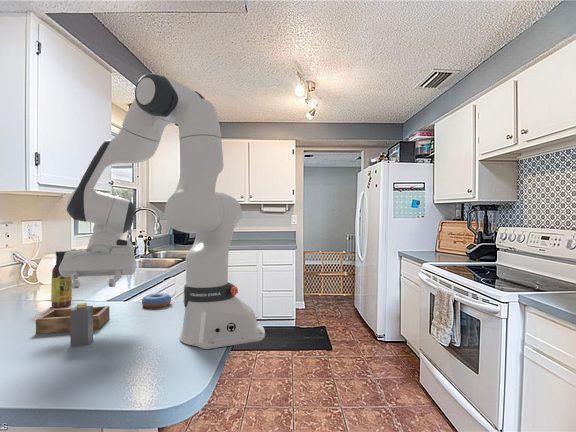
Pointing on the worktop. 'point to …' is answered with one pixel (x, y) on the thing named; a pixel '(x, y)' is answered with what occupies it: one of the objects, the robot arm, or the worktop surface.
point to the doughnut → (156, 300)
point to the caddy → (68, 320)
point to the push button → (81, 325)
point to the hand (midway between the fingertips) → (93, 286)
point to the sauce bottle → (60, 284)
